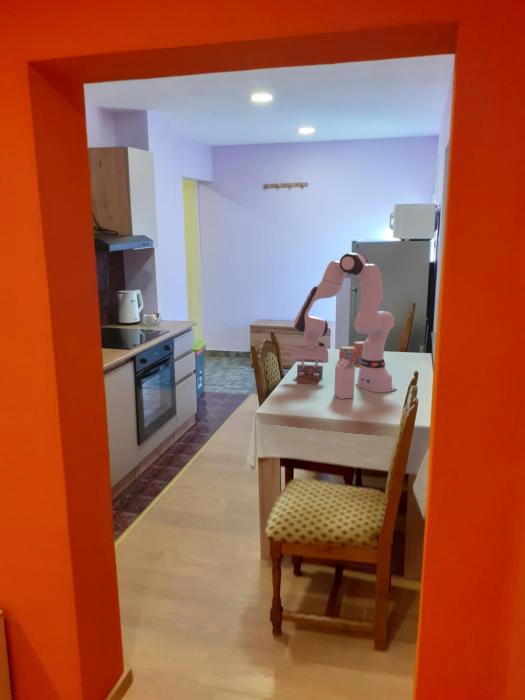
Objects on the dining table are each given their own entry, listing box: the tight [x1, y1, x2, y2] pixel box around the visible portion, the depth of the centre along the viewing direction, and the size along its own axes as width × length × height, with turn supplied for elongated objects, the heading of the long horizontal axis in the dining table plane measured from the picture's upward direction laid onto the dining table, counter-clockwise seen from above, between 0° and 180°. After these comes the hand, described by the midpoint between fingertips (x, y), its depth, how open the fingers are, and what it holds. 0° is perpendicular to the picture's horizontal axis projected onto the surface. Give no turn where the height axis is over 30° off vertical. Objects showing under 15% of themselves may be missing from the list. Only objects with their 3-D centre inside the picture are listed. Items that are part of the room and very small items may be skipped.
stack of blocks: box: [338, 340, 365, 364], centre depth 355 cm, size 21×6×12 cm, turn 99°
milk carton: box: [333, 358, 356, 400], centre depth 282 cm, size 7×7×19 cm
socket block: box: [297, 371, 320, 385], centre depth 311 cm, size 11×11×4 cm
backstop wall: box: [296, 364, 324, 379], centre depth 318 cm, size 2×14×7 cm, turn 81°
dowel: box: [307, 366, 313, 375], centre depth 311 cm, size 3×3×8 cm
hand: (309, 368), depth 309 cm, fingers open, 4 cm apart
